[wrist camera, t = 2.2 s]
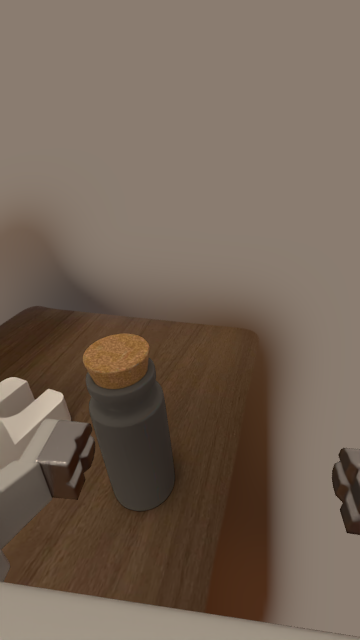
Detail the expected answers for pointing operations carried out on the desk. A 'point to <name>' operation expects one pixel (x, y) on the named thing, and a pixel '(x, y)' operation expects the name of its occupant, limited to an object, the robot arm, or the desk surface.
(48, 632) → the robot arm
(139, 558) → the desk surface
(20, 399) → the white slotted bracket
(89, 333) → the desk surface
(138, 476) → the bottle
